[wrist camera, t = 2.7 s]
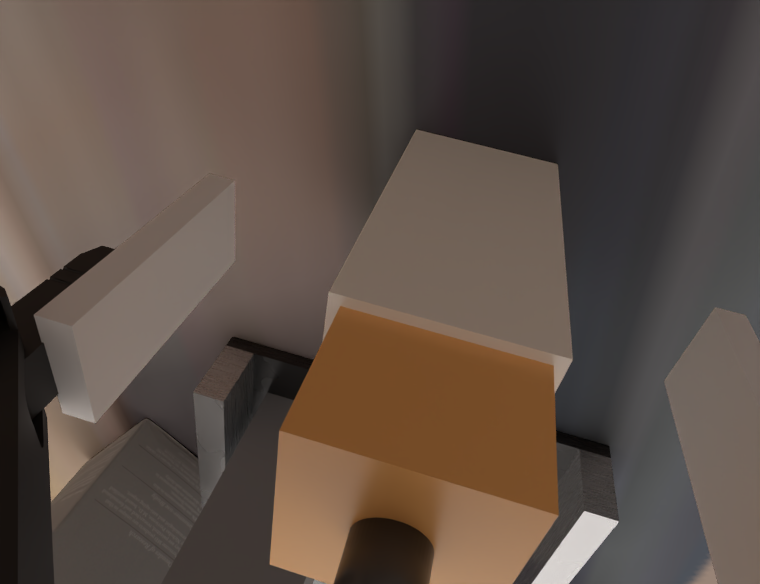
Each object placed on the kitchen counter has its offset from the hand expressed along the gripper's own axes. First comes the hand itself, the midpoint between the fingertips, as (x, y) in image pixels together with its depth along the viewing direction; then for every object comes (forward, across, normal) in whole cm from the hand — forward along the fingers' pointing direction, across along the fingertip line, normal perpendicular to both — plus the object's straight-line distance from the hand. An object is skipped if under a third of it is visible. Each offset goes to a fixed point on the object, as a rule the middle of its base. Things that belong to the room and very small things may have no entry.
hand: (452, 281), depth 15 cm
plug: (+4, 0, 0) cm, 4 cm away
